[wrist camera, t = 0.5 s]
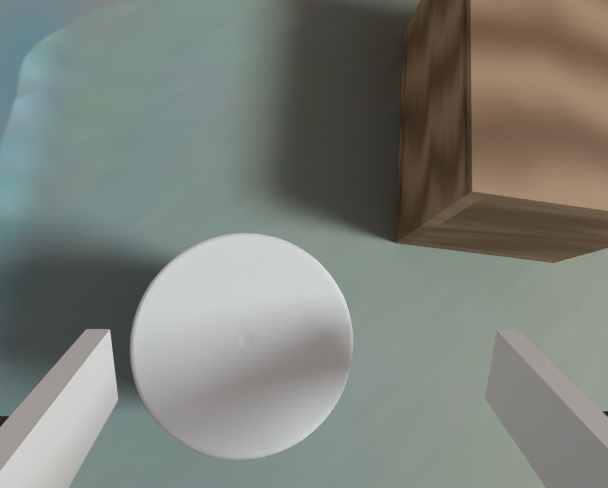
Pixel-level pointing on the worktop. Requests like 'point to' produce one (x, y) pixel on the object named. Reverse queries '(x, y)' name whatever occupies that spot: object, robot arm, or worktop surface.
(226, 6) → the worktop surface
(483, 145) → the cabinet
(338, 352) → the supplement tub
